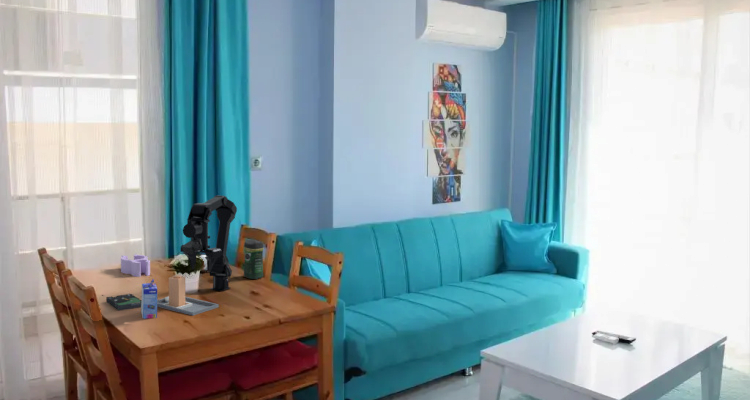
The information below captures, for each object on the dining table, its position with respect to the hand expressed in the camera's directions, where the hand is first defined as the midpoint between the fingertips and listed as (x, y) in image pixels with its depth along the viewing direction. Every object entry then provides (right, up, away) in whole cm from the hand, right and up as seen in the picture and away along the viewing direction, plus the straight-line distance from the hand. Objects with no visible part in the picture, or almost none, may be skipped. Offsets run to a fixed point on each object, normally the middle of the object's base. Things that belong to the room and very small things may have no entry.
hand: (200, 270), depth 272 cm
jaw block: (-7, -13, -11) cm, 19 cm away
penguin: (-9, -7, +54) cm, 55 cm away
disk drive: (-29, -14, -8) cm, 33 cm away
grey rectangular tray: (-4, -14, -10) cm, 18 cm away
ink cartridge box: (-14, -16, -23) cm, 31 cm away
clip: (-45, -6, +46) cm, 65 cm away
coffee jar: (+14, -8, +44) cm, 47 cm away
